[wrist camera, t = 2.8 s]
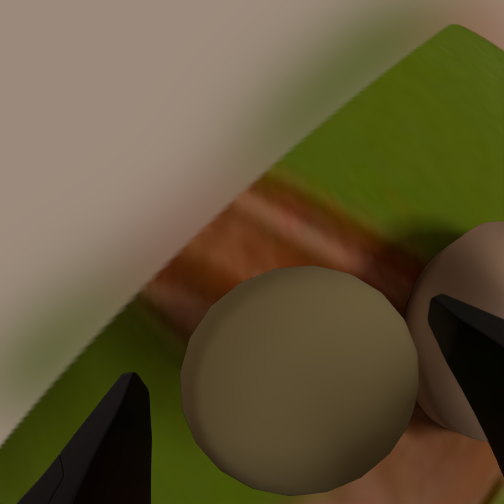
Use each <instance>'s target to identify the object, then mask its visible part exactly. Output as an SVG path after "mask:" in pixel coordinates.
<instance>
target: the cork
mask: <svg viewBox="0 0 504 504" xmlns="http://www.w3.org/2000/svg"><path fill="white" fill-rule="evenodd" d="M180 382H181V398H182V411H183V413H184V416H185V418H186V420H187V423H188V425H189V428H190V430H191V432H192V435H193V437H194V439H195V441H196V444H197V445H198V446H199V447H200V448H201V449H202V450H203V452H204V453H205V454H206V455H207V456H208V457H209V458H210V459H211V461H212V462H213V463H214V464H215V465H216V466H217V467H218V468H219V469H220V470H221V471H222V472H224V473H226V474H228V475H229V476H231V477H233V478H235V479H236V480H238V481H240V482H242V483H243V484H245V485H247V486H249V487H251V488H253V489H257V490H262V491H266V492H271V493H276V494H282V495H287V496H293V495H305V494H314V493H322V492H328V491H330V490H333V489H335V488H338V487H340V486H343V485H345V484H347V483H350V482H352V481H354V480H356V479H359V478H361V477H362V476H363V475H365V474H366V473H367V472H368V471H370V470H371V469H372V468H373V467H375V466H376V465H377V464H378V463H379V462H380V461H382V460H383V459H384V458H385V457H386V456H387V455H389V454H390V452H391V451H392V449H393V448H394V446H395V445H396V443H397V442H398V440H399V439H400V437H401V436H402V434H403V433H404V431H405V429H406V428H407V426H408V425H409V423H410V420H411V417H412V413H413V410H414V406H415V402H416V398H417V395H418V391H419V371H418V355H417V350H416V348H415V345H414V342H413V340H412V337H411V335H410V332H409V330H408V327H407V325H406V323H405V320H404V319H403V317H402V316H401V315H400V314H399V313H398V312H397V310H396V309H395V308H394V307H393V306H392V305H391V303H390V302H389V301H388V300H387V299H386V298H385V296H384V295H383V294H382V293H381V292H379V291H378V290H376V289H374V288H373V287H371V286H370V285H368V284H366V283H365V282H363V281H361V280H360V279H358V278H356V277H354V276H353V275H351V274H348V273H344V272H340V271H335V270H331V269H327V268H322V267H318V266H302V267H290V268H277V269H274V270H271V271H269V272H266V273H264V274H261V275H259V276H256V277H254V278H251V279H248V280H246V281H243V282H241V283H239V284H238V285H237V286H236V287H234V288H233V289H232V290H231V291H229V292H228V293H227V294H226V295H224V296H223V297H222V298H221V299H219V300H218V301H217V302H216V303H215V304H213V305H212V306H211V307H210V308H209V310H208V311H207V313H206V314H205V316H204V317H203V319H202V321H201V322H200V324H199V325H198V327H197V328H196V330H195V331H194V333H193V334H192V336H191V337H190V339H189V343H188V346H187V350H186V354H185V357H184V361H183V365H182V368H181V372H180Z"/></svg>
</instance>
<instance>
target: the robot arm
mask: <svg viewBox="0 0 504 504" xmlns="http://www.w3.org/2000/svg"><path fill="white" fill-rule="evenodd" d="M428 324H429V326H430V328H431V330H432V333H433V335H434V337H435V339H436V341H437V343H438V345H439V348H440V350H441V352H442V354H443V356H444V358H445V361H446V363H447V364H448V366H449V368H450V370H451V372H452V373H453V375H454V377H455V379H456V380H457V382H458V384H459V386H460V388H461V389H462V391H463V393H464V395H465V397H466V399H467V400H468V402H469V404H470V406H471V408H472V410H473V412H474V414H475V416H476V418H477V420H478V422H479V424H480V426H481V428H482V430H483V432H484V434H485V436H486V438H487V440H488V442H489V444H490V446H491V449H492V451H493V453H494V455H495V457H496V460H497V462H498V465H499V467H500V469H501V472H502V474H503V477H504V319H502V318H500V317H498V316H496V315H493V314H491V313H489V312H486V311H484V310H481V309H479V308H477V307H474V306H472V305H470V304H467V303H465V302H462V301H460V300H458V299H455V298H453V297H450V296H448V295H445V294H439V295H436V296H434V297H432V298H431V300H430V305H429V311H428ZM151 453H152V431H151V416H150V398H149V391H148V389H147V387H146V386H145V384H144V383H143V381H142V380H141V379H140V377H139V376H138V374H137V373H135V372H130V373H124V374H122V375H121V376H120V377H119V379H118V380H117V381H116V382H115V384H114V385H113V386H112V387H111V389H110V390H109V391H108V392H107V394H106V395H105V396H104V397H103V399H102V400H101V401H100V403H99V404H98V405H97V406H96V408H95V409H94V410H93V411H92V413H91V414H90V415H89V417H88V418H87V419H86V420H85V422H84V423H83V424H82V425H81V427H80V428H79V429H78V431H77V432H76V433H75V434H74V436H73V437H72V438H71V440H70V441H69V442H68V444H67V445H66V446H65V447H64V449H63V450H62V451H61V453H60V455H58V456H57V458H56V459H55V460H54V462H53V463H52V464H51V465H50V467H49V468H48V469H47V470H46V472H45V473H44V474H43V475H42V476H41V478H40V479H39V480H38V481H37V482H36V483H35V484H34V485H33V486H32V488H31V489H30V490H29V491H28V492H27V493H26V494H25V495H24V496H23V497H22V498H21V499H20V500H19V502H18V503H17V504H151Z"/></svg>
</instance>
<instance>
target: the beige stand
mask: <svg viewBox="0 0 504 504" xmlns="http://www.w3.org/2000/svg"><path fill="white" fill-rule="evenodd" d="M439 294H445V295H448V296H450V297H453V298H455V299H458V300H460V301H462V302H465V303H467V304H470V305H472V306H474V307H477V308H479V309H481V310H484V311H486V312H489V313H491V314H493V315H496V316H498V317H500V318H502V319H504V222H489V223H484V224H481V225H479V226H476V227H474V228H473V229H471V230H470V231H468V232H467V233H465V234H464V235H462V236H461V237H460V238H458V239H457V240H455V241H454V242H453V243H451V244H450V245H448V246H447V247H446V248H444V249H443V250H441V251H440V252H439V253H438V254H437V255H435V256H434V257H433V258H432V260H431V261H430V262H429V263H428V264H427V265H426V267H425V268H424V269H423V271H422V272H421V274H420V275H419V277H418V279H417V281H416V283H415V285H414V287H413V290H412V292H411V295H410V297H409V300H408V304H407V308H406V312H405V317H404V320H405V323H406V325H407V327H408V330H409V332H410V335H411V337H412V340H413V342H414V345H415V348H416V350H417V355H418V371H419V391H418V395H417V398H416V401H417V403H418V405H419V406H420V407H421V409H422V410H423V411H424V413H425V414H426V415H427V416H428V417H430V418H431V419H432V420H433V421H434V422H436V423H437V424H439V425H441V426H442V427H445V428H447V429H450V430H452V431H455V432H457V433H460V434H463V435H465V436H468V437H470V438H473V439H476V440H481V441H488V440H487V438H486V436H485V434H484V432H483V430H482V428H481V426H480V424H479V422H478V420H477V418H476V416H475V414H474V412H473V410H472V408H471V406H470V404H469V402H468V400H467V399H466V397H465V395H464V393H463V391H462V389H461V388H460V386H459V384H458V382H457V380H456V379H455V377H454V375H453V373H452V372H451V370H450V368H449V366H448V364H447V363H446V361H445V358H444V356H443V354H442V352H441V350H440V348H439V345H438V343H437V341H436V339H435V337H434V335H433V333H432V330H431V328H430V326H429V324H428V311H429V305H430V300H431V298H432V297H434V296H436V295H439Z"/></svg>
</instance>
